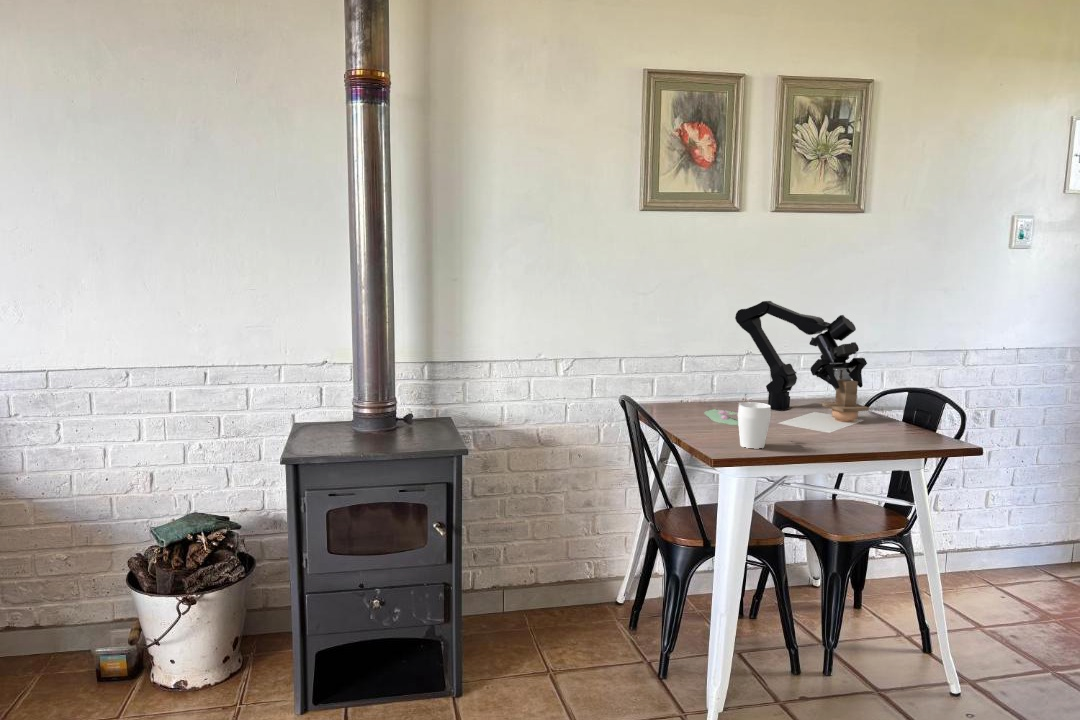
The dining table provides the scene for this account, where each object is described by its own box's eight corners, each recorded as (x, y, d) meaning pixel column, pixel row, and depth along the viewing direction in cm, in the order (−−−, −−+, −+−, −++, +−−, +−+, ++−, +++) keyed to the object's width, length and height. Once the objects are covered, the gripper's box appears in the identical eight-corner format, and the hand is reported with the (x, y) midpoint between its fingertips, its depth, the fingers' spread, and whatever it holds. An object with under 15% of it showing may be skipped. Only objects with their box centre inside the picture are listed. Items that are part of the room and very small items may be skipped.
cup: (731, 442, 231) (733, 401, 229) (761, 442, 232) (764, 401, 230) (742, 450, 222) (744, 408, 220) (773, 450, 223) (776, 408, 221)
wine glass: (853, 412, 277) (856, 369, 275) (830, 411, 277) (833, 369, 275) (845, 407, 285) (848, 366, 283) (822, 407, 285) (825, 365, 283)
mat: (777, 426, 253) (777, 423, 253) (814, 414, 272) (814, 411, 271) (829, 435, 241) (829, 432, 241) (864, 423, 260) (864, 420, 260)
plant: (684, 415, 270) (685, 388, 268) (726, 409, 281) (728, 383, 280) (741, 430, 249) (742, 401, 248) (784, 422, 261) (786, 395, 259)
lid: (822, 405, 262) (824, 378, 260) (846, 404, 265) (849, 377, 264) (843, 412, 252) (845, 384, 251) (868, 410, 256) (870, 382, 254)
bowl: (827, 419, 259) (827, 407, 259) (837, 416, 265) (838, 404, 264) (851, 424, 254) (852, 411, 253) (861, 420, 259) (862, 408, 259)
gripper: (818, 334, 256) (839, 373, 247) (865, 333, 262) (887, 371, 253) (801, 355, 264) (821, 394, 255) (846, 353, 270) (867, 391, 262)
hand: (849, 387), depth 256 cm, fingers open, 9 cm apart
